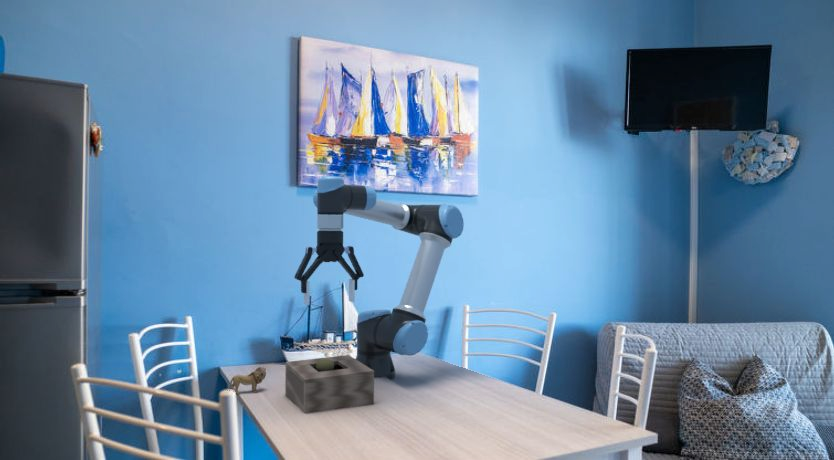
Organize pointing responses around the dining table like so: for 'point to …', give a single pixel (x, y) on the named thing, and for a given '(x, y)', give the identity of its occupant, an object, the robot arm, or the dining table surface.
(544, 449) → the dining table surface
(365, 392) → the walnut box
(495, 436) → the dining table surface
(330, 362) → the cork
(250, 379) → the lion figurine
